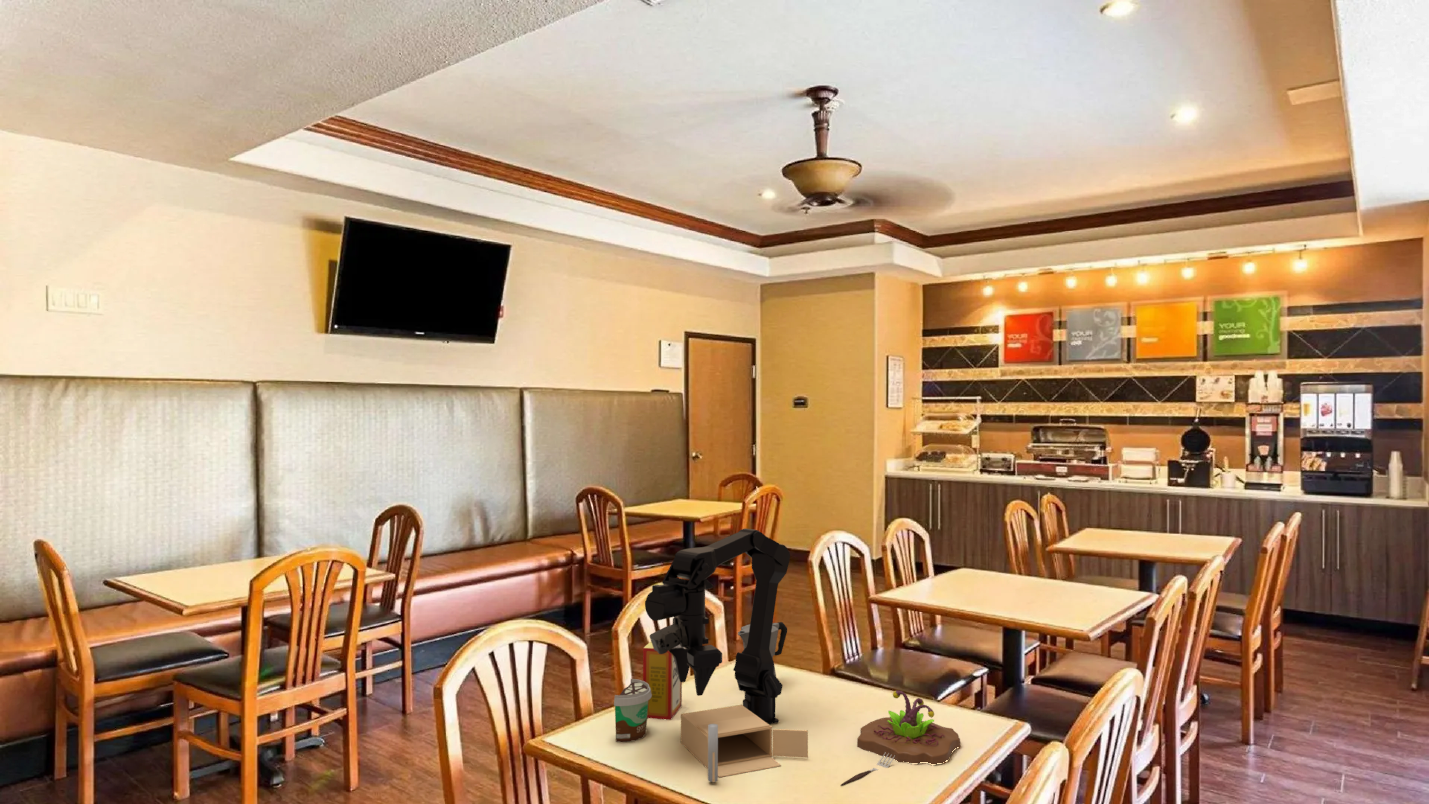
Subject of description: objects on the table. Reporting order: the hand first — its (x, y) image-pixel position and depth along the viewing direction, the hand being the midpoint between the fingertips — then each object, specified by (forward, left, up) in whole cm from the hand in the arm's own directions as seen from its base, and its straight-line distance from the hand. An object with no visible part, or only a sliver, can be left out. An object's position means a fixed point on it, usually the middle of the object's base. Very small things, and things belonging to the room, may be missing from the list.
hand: (690, 688), depth 173 cm
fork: (-26, +25, -13) cm, 38 cm away
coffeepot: (-31, -28, -12) cm, 44 cm away
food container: (+8, -11, -12) cm, 18 cm away
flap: (+2, +15, -11) cm, 19 cm away
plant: (-42, +16, -13) cm, 47 cm away
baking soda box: (-2, -22, -12) cm, 25 cm away
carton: (-9, +6, -12) cm, 16 cm away
